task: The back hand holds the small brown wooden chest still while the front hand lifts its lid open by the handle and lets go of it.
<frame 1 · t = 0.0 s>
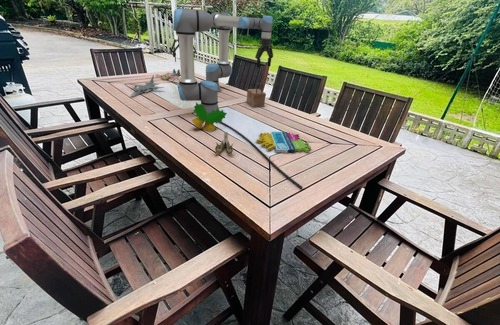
front hand: (184, 61, 211), 28 cm above the table, tool pointing down, fingers open, 13 cm apart
back hand: (263, 66, 214), 28 cm above the table, tool pointing down, fingers open, 13 cm apart
toy: (170, 77, 283), on the table
airplane: (145, 91, 229), on the table
chest: (255, 104, 216), on the table
ornament: (209, 128, 165), on the table
jawbone: (224, 151, 138), on the table
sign: (281, 143, 152), on the table
lid: (256, 87, 209), point 14 cm above the table, hinge at 0.0°
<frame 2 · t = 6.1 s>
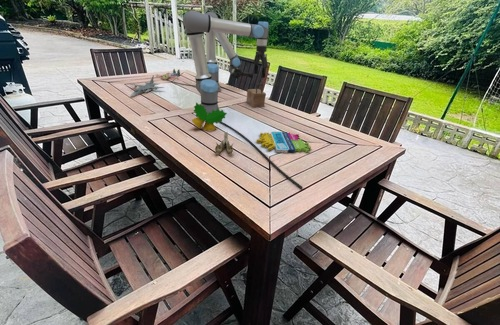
front hand: (259, 75, 200), 24 cm above the table, tool pointing down, fingers open, 13 cm apart
back hand: (245, 77, 230), 16 cm above the table, tool horizontal, fingers open, 13 cm apart
nothing on the table moved.
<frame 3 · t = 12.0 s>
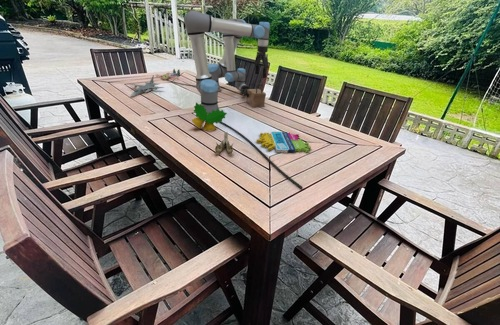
front hand: (260, 76, 200), 24 cm above the table, tool pointing down, fingers open, 13 cm apart
back hand: (254, 95, 215), 7 cm above the table, tool horizontal, fingers closed on chest, 10 cm apart
chest: (255, 104, 216), on the table, touching back hand
everything else where it was.
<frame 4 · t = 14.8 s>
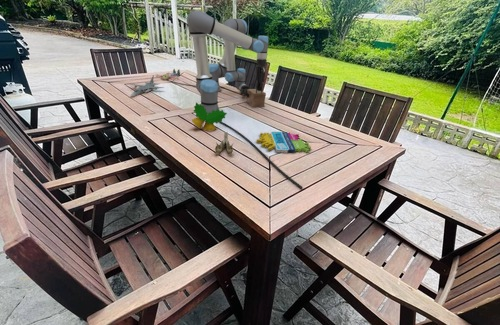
front hand: (259, 90, 206), 13 cm above the table, tool pointing down, fingers closed on lid
back hand: (254, 95, 215), 7 cm above the table, tool horizontal, fingers closed on chest, 10 cm apart
chest: (255, 104, 216), on the table, touching back hand
lid: (256, 87, 209), point 14 cm above the table, hinge at 0.8°, touching front hand
everything else where it was.
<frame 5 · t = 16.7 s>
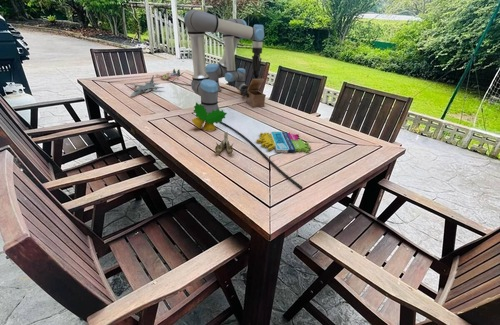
front hand: (255, 79, 210), 20 cm above the table, tool pointing down, fingers closed on lid
back hand: (254, 95, 216), 6 cm above the table, tool horizontal, fingers closed on chest, 10 cm apart
chest: (255, 104, 216), on the table, touching back hand
lid: (254, 80, 211), point 18 cm above the table, hinge at 46.8°, touching front hand
everything else where it was.
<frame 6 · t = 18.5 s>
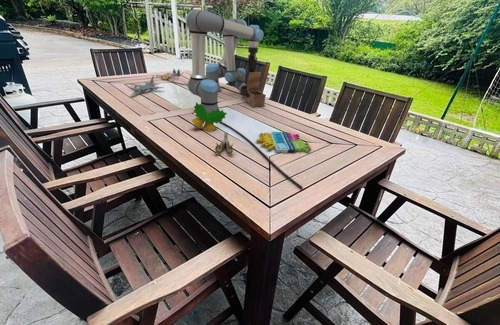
front hand: (251, 77, 216), 19 cm above the table, tool pointing down, fingers open, 2 cm apart
back hand: (254, 95, 215), 6 cm above the table, tool horizontal, fingers closed on chest, 10 cm apart
chest: (255, 104, 216), on the table, touching back hand
lid: (252, 79, 215), point 18 cm above the table, hinge at 79.1°
everything else where it was.
when the back hand's fingers open (6 cm above the table, at t = 22.4 s): chest stays where it is, on the table.
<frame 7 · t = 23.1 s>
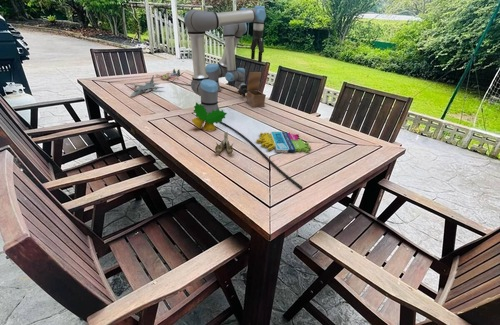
front hand: (256, 60, 203), 34 cm above the table, tool pointing down, fingers open, 13 cm apart
back hand: (252, 94, 218), 6 cm above the table, tool horizontal, fingers open, 13 cm apart
chest: (255, 104, 216), on the table
lid: (252, 79, 214), point 18 cm above the table, hinge at 78.3°
everything else where it was.
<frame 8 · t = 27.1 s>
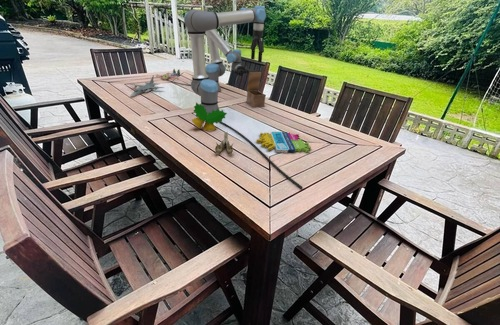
front hand: (256, 60, 203), 34 cm above the table, tool pointing down, fingers open, 13 cm apart
back hand: (249, 74, 220), 21 cm above the table, tool horizontal, fingers open, 13 cm apart
nothing on the table moved.
at the end: lid at +78° (first picture: +0°); the front hand is holding nothing; the back hand is holding nothing; chest tilted 0°; chest never tilted more than 1° during the clip; chest moved 0.0 cm from its start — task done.
